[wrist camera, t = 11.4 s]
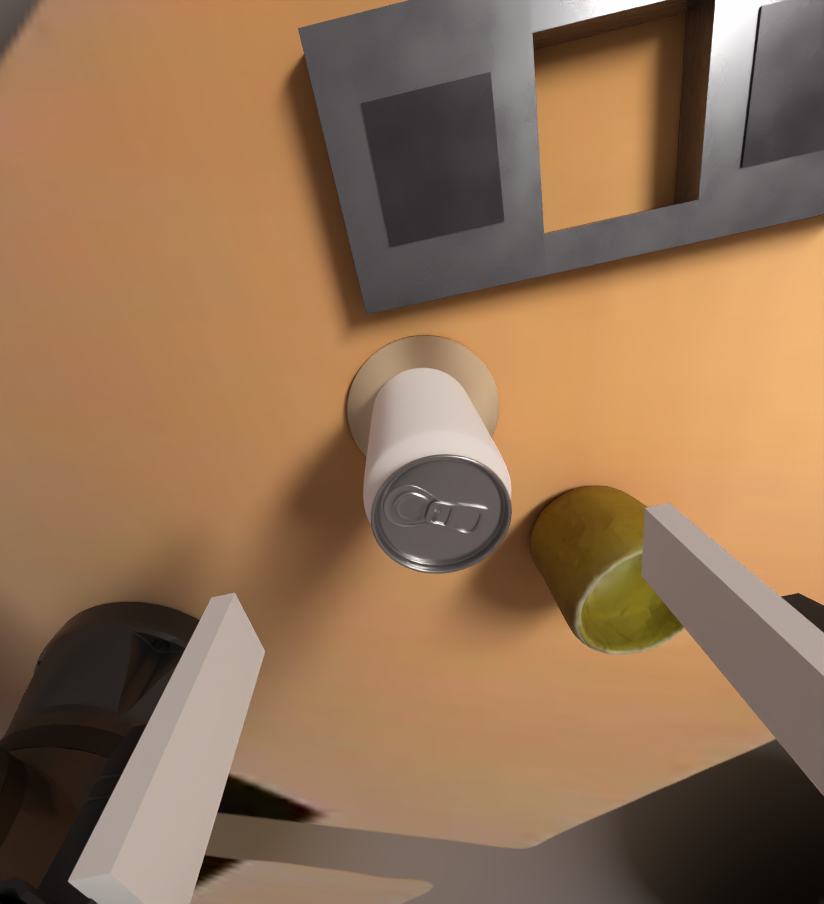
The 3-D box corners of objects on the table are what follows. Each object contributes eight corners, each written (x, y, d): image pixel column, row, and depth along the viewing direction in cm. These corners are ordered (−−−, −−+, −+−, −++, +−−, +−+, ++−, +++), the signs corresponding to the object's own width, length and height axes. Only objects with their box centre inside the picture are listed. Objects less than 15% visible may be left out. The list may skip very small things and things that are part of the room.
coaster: (368, 489, 30) (368, 492, 30) (329, 353, 26) (328, 355, 25) (505, 462, 29) (506, 464, 29) (488, 319, 25) (489, 320, 25)
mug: (485, 580, 32) (581, 672, 23) (541, 457, 31) (662, 501, 22) (593, 608, 37) (705, 692, 28) (642, 503, 36) (775, 554, 27)
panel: (368, 310, 25) (366, 314, 23) (306, 49, 20) (297, 27, 18) (849, 204, 23) (889, 199, 22) (917, -104, 18) (979, -146, 16)
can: (385, 353, 25) (381, 426, 15) (484, 380, 26) (549, 466, 16) (362, 446, 28) (344, 566, 17) (452, 467, 29) (489, 593, 18)
